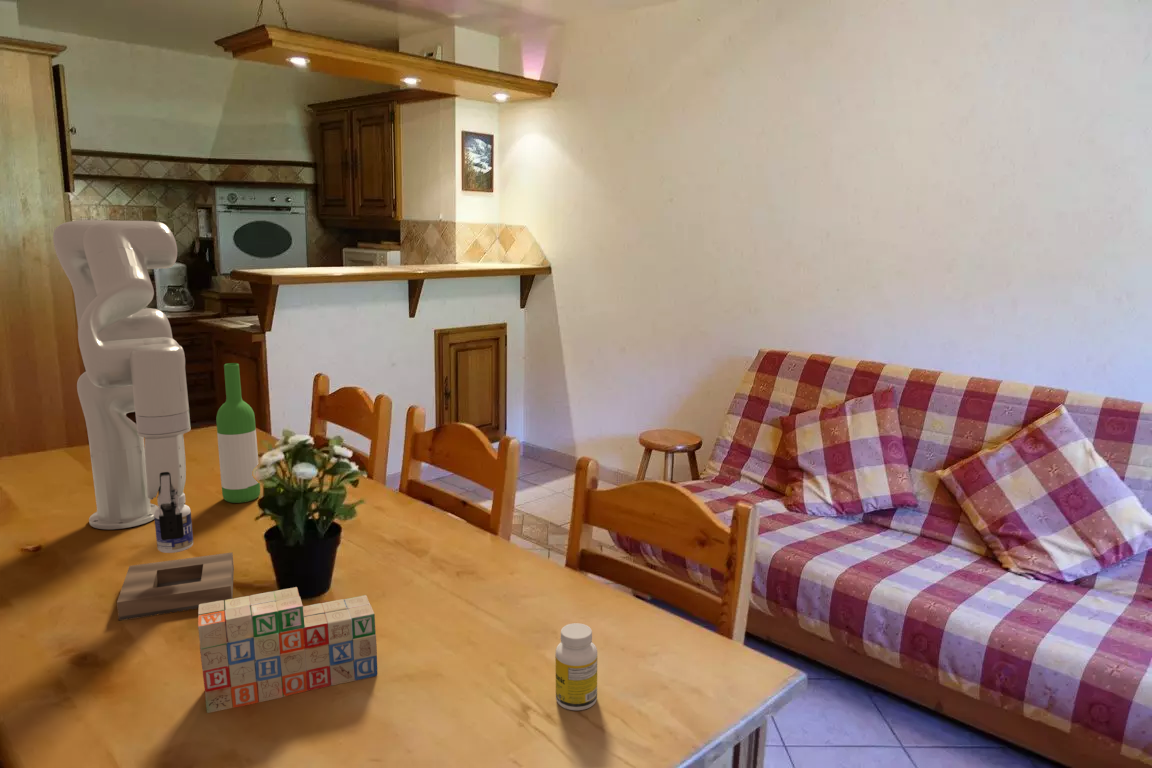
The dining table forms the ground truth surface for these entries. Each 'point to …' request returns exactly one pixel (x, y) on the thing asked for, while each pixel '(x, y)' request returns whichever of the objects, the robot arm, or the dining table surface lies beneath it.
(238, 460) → the wine bottle
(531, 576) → the dining table surface
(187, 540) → the pill bottle
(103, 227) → the robot arm
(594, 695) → the supplement bottle
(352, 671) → the stack of blocks
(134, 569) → the holder block
